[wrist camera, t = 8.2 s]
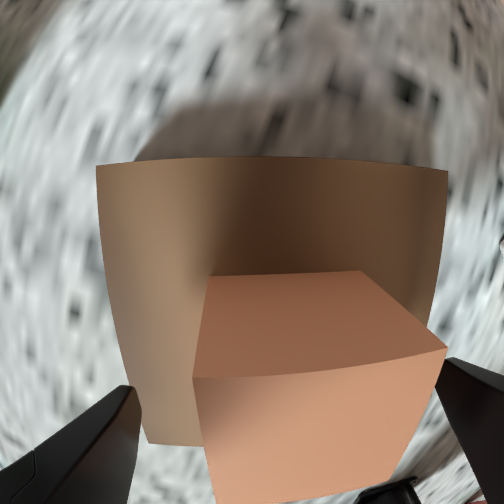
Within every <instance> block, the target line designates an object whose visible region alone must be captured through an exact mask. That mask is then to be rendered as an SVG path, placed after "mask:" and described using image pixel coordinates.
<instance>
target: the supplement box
mask: <svg viewBox="0 0 504 504" xmlns="http://www.w3.org/2000/svg"><path fill="white" fill-rule="evenodd" d="M500 250H501V254H502V257H503V260H504V239H503V241H502V242H501V243H500Z"/></svg>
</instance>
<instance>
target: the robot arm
mask: <svg viewBox="0 0 504 504" xmlns="http://www.w3.org/2000/svg"><path fill="white" fill-rule="evenodd" d="M435 389H436V391H437V394H438V396H439V399H440V401H441V403H442V406H443V408H444V411H445V413H446V416H447V418H448V421H449V423H450V425H451V427H452V429H453V431H454V433H455V435H456V437H457V439H458V441H459V443H460V445H461V447H462V449H463V451H464V453H465V455H466V457H467V459H468V461H469V463H470V466H471V468H472V470H473V472H474V474H475V476H476V479H477V481H478V483H479V485H480V488H481V490H482V492H483V495H484V497H485V499H486V502H487V504H504V376H503V375H501V374H498V373H495V372H492V371H490V370H487V369H484V368H481V367H479V366H476V365H473V364H471V363H468V362H465V361H463V360H460V359H457V358H454V357H451V358H447V359H444V362H443V365H442V368H441V371H440V374H439V376H438V379H437V382H436V384H435ZM141 418H142V408H141V405H140V401H139V398H138V394H137V391H136V389H135V387H133V386H127V385H120V386H118V387H117V388H115V389H114V390H113V391H111V392H110V393H109V394H107V395H106V396H105V397H103V398H102V399H101V400H100V401H98V402H97V403H96V404H94V405H93V406H92V407H90V408H89V409H88V410H86V411H85V412H83V413H82V414H81V415H79V416H78V417H77V418H75V419H74V420H73V421H71V422H70V423H69V424H67V425H66V426H65V427H63V428H62V429H61V430H59V431H58V432H56V433H55V434H54V435H52V436H51V437H50V438H48V439H47V440H45V441H44V442H43V443H41V444H40V445H38V446H37V447H36V448H34V450H31V451H30V452H29V453H27V454H26V455H24V456H23V457H21V458H20V459H18V460H17V461H15V462H14V463H12V464H11V465H9V466H8V467H6V468H4V469H2V470H1V471H0V504H127V500H128V496H129V491H130V486H131V482H132V478H133V473H134V469H135V465H136V460H137V452H138V443H139V434H140V426H141ZM418 480H419V479H418V477H417V476H416V477H413V478H410V479H407V480H404V481H401V482H398V483H395V484H392V485H389V486H386V487H383V488H379V489H376V490H372V491H369V492H365V493H362V494H360V495H359V496H358V498H357V500H356V501H355V503H354V504H421V502H420V500H419V498H418V496H417V494H416V492H415V490H414V488H413V487H414V486H415V484H416V483H417V482H418Z"/></svg>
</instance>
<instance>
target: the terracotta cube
mask: <svg viewBox="0 0 504 504" xmlns="http://www.w3.org/2000/svg"><path fill="white" fill-rule="evenodd" d="M447 350H448V347H447V346H446V345H445V344H444V343H443V342H442V341H441V340H440V339H439V338H437V337H436V336H435V335H434V334H433V333H432V332H431V331H430V330H429V329H428V328H426V327H425V326H424V325H423V324H422V323H421V322H420V321H419V320H418V319H416V318H415V317H414V316H413V315H412V314H411V313H410V312H409V311H407V310H406V309H405V308H404V307H403V306H402V305H401V304H399V303H398V302H397V301H396V300H395V299H394V298H393V297H391V296H390V295H389V294H388V293H387V292H386V291H384V290H383V289H382V288H381V287H380V286H379V285H377V284H376V283H375V282H374V281H373V280H371V279H370V278H369V277H368V276H367V275H365V274H364V273H363V272H362V271H341V272H320V273H296V274H269V275H238V276H209V278H208V284H207V289H206V295H205V301H204V306H203V312H202V318H201V324H200V330H199V336H198V342H197V349H196V355H195V361H194V368H193V375H192V381H193V387H194V394H195V400H196V406H197V412H198V418H199V423H200V429H201V434H202V439H203V445H204V450H205V455H206V459H207V464H208V469H209V474H210V478H211V482H212V487H213V491H214V495H215V500H216V504H273V503H283V502H291V501H299V500H305V499H312V498H318V497H323V496H329V495H334V494H338V493H343V492H347V491H352V490H356V489H360V488H364V487H367V486H371V485H375V484H378V483H381V482H385V481H388V480H389V478H390V477H391V475H392V473H393V472H394V470H395V468H396V467H397V465H398V463H399V461H400V459H401V458H402V456H403V454H404V452H405V450H406V448H407V446H408V444H409V442H410V441H411V439H412V437H413V435H414V432H415V430H416V428H417V426H418V424H419V422H420V420H421V418H422V415H423V413H424V411H425V409H426V406H427V404H428V402H429V399H430V397H431V394H432V392H433V389H434V387H435V384H436V382H437V379H438V376H439V374H440V371H441V368H442V365H443V362H444V359H445V356H446V353H447Z"/></svg>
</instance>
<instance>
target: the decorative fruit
mask: <svg viewBox="0 0 504 504" xmlns="http://www.w3.org/2000/svg"><path fill="white" fill-rule="evenodd" d="M466 504H487V502H486V500H483V501H476V502H472V503H466Z"/></svg>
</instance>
